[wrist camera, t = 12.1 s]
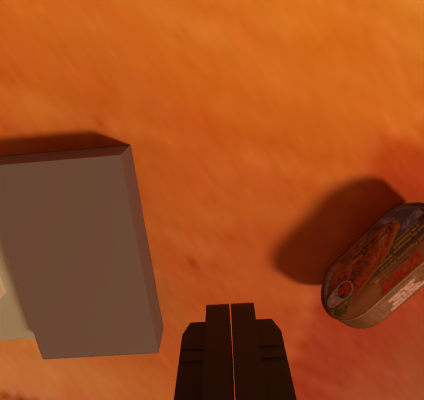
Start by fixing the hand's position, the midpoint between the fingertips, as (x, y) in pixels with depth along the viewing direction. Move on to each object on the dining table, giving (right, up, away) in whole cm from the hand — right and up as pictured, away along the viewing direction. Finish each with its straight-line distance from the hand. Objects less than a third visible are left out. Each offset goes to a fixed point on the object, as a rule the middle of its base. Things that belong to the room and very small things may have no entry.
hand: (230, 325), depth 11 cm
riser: (-15, -2, +30) cm, 33 cm away
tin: (+17, -1, +29) cm, 34 cm away
